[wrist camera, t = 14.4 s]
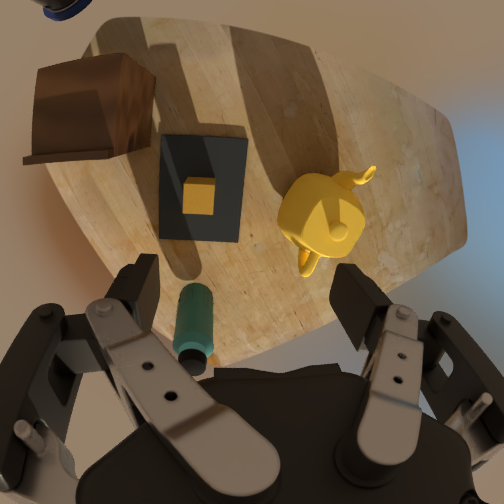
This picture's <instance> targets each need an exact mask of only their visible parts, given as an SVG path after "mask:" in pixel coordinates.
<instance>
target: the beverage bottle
mask: <svg viewBox="0 0 504 504" xmlns="http://www.w3.org/2000/svg"><path fill="white" fill-rule="evenodd" d="M179 295H180V298H179V300H178V302H179V305H178V306H177V308H178V310H177V312H176V313H177V318H175V319H176V326H175V333H174V340H173V349H174V351H175V352H176V353H177V354H178V356H179V357H178V362H179V363H180V364H181V365H182V366H183V367H184V369H185V370H186V371H187V372H188V373H189V374H190V375H191V376H198V375H201V374H202V373H204V371H205V370H206V364H207V357H209V356H210V355H211V354H212V352H213V349H214V344H213V329H214V328H213V319H214V318H213V317H214V316H213V302H214V301H213V296H212V292H211V291H210V290H209V288H208V287H206V286H205V285H203V284H200V283H192V284H189V285H187V286H186V287H184V288H183V290H182V291H181V294H179Z"/></svg>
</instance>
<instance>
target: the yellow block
mask: <svg viewBox="0 0 504 504" xmlns="http://www.w3.org/2000/svg"><path fill="white" fill-rule="evenodd" d="M214 191H215V178H204V177H188V178H187V179H186V181H185V183H184V189H183V213H187V214H208V215H213V206H214Z"/></svg>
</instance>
